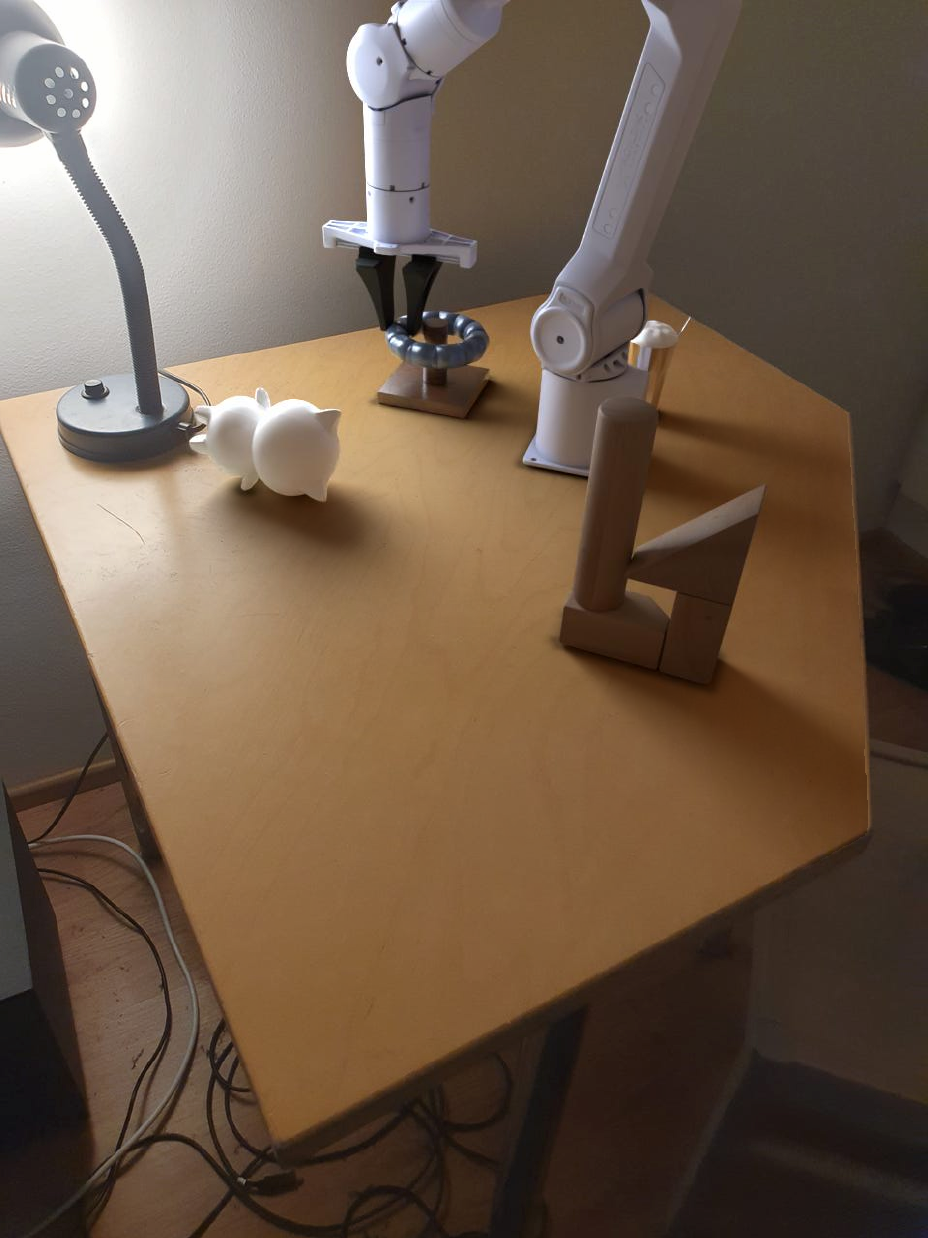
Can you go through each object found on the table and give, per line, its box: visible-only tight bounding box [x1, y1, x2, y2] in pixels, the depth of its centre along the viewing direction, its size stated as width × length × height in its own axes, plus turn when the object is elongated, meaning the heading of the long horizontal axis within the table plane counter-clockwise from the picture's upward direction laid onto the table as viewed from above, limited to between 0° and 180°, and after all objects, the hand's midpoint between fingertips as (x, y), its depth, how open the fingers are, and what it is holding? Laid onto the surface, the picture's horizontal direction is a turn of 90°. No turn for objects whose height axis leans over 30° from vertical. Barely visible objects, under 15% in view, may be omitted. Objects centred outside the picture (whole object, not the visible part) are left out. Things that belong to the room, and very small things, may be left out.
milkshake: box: [628, 315, 691, 410], centre depth 88 cm, size 4×5×10 cm
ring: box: [384, 310, 491, 369], centre depth 89 cm, size 10×10×2 cm
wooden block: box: [558, 397, 768, 685], centre depth 58 cm, size 4×11×18 cm, turn 68°
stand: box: [376, 318, 491, 419], centre depth 91 cm, size 9×9×7 cm
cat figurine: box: [188, 387, 342, 503], centre depth 78 cm, size 9×11×12 cm
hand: (400, 329), depth 90 cm, fingers closed on ring, 2 cm apart
